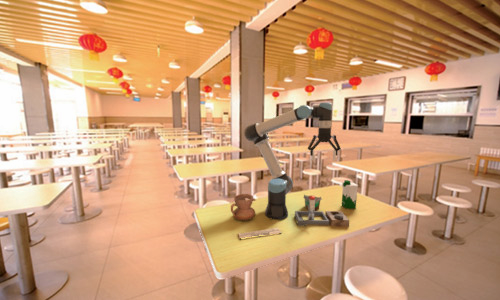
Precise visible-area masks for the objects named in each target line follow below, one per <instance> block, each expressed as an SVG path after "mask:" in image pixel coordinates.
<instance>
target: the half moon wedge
mask: <svg viewBox="0 0 500 300" xmlns="http://www.w3.org/2000/svg"><path fill="white" fill-rule="evenodd" d="M303 194H304V195H303V199H304V207H305V209H307V210H309V196H310V195H306V194H305V193H303ZM321 200H322V197H321V196H319V197H317V196H315V211H319V209H320V204H321Z"/></svg>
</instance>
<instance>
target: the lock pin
mask: <svg viewBox="0 0 500 300" xmlns="http://www.w3.org/2000/svg"><path fill="white" fill-rule="evenodd" d="M308 196H309V209H307V211H308V216H307V220H315V216H314V211H316V210H315V197H316V196H315V195H308Z"/></svg>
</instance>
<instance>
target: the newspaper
mask: <svg viewBox="0 0 500 300" xmlns="http://www.w3.org/2000/svg"><path fill="white" fill-rule="evenodd" d="M278 233H281V234H282V232H281V230H280V228H279V227H274V228H268V229H267V228H266V229H260V230H253V231H248V232H247V231H246V232H238V233H237V235H238V234H239V235H238V238H239V239H240V238H245V237H252V236H259V235H270V234H277V235H279V234H278Z"/></svg>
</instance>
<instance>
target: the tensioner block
mask: <svg viewBox="0 0 500 300" xmlns="http://www.w3.org/2000/svg"><path fill="white" fill-rule="evenodd" d="M324 214H325V216H326V217H327V218H328V220H329V226H331V227H345V228H348V227H350V220H349V218H348V217H347V215H345V214H344V212H343V211H341V210H340V211H339V210H326V211H325V212H324Z"/></svg>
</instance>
